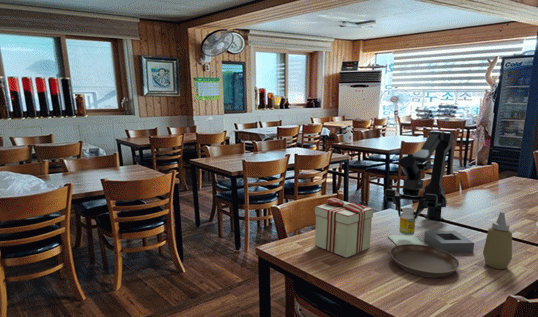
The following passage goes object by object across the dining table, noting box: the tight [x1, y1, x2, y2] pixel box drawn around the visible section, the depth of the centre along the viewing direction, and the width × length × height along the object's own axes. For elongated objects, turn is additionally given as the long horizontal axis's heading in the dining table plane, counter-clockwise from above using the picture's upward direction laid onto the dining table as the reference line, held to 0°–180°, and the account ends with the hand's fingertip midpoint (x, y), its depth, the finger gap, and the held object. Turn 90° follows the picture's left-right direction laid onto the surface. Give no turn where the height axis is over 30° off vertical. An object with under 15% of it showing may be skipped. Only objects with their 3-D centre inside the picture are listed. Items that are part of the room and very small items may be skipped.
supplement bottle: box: [399, 207, 416, 236], centre depth 137 cm, size 5×5×10 cm
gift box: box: [314, 197, 374, 259], centre depth 132 cm, size 17×18×17 cm
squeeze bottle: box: [482, 211, 513, 270], centre depth 117 cm, size 8×8×18 cm
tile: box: [387, 234, 425, 246], centre depth 138 cm, size 10×10×1 cm
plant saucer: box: [389, 244, 460, 278], centre depth 118 cm, size 21×21×3 cm
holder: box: [423, 230, 475, 254], centre depth 134 cm, size 12×12×4 cm
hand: (407, 217), depth 135 cm, fingers closed on supplement bottle, 5 cm apart
